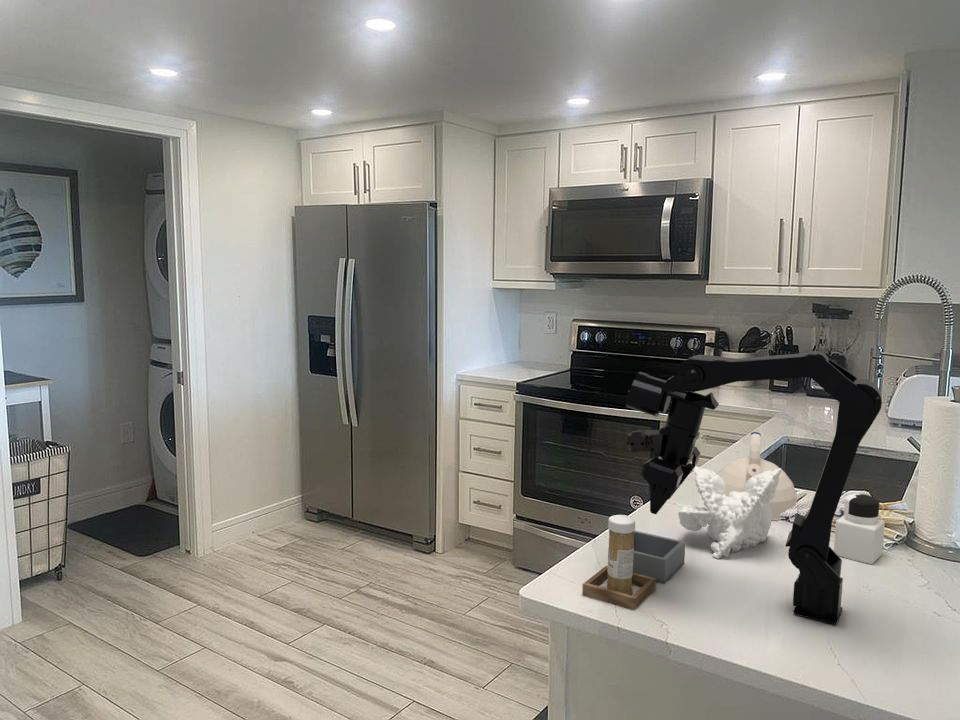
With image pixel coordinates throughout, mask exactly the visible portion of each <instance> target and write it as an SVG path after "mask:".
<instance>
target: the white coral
mask: <svg viewBox="0 0 960 720" xmlns="http://www.w3.org/2000/svg"><path fill="white" fill-rule="evenodd" d="M781 470H783V469H782V468H781V467H779V469H775V470H773V471H770V470H769V471H765V472H762V473H760V474H758V475H755V476H753V477H751V478H750V479H749V480H748V481H747V483H746V485H745V491H746V492H736V491H733V492H730V493H729V496H727V497H726V495H724V494H722V492H724V491H725V490H726V484H725V482H724V480H723V479H722V478H721V477H720V476H719V475H717V474H716V473H715V472H714V471H712V470H710V469H708V468H703V467H699V466H697V465H695V468H694V469H693V470H692V472H694V473H693V474H695V479H694V480H695V486H696V487H697V489H698V490H697V492H698V494H699V495H700V496H701V500H702V501H703V505H704V506H702V507H699V506H697V505H693V504H689V505H686V506H682V508H680V509H679V510H678V513H677V515H678V518H679V524H680V526H682V527H683V528H684V529H686V530H688V531H692V532H697V531H700V530H701V529H703V528H705V527H706V529H707V533H708V534H709V535H710V537H711V539H712V540H714V541H713V542H712V543H711V544H710V549H711V551H713V553H712V558H714V559H716V560H718V559H719V558H720V559H722V557H724V556H725V558H727V557H730V552H732V553H738V552H739V551H740V550H741V549H748V548H749V547H751V548H754V547H756V546H757V545H758V544H759V543H763V542H766V540H767V539H766V538H767V537H768V535H769V530H770V529H771V525H772V521H771V518H772V513H771V509H770V508H769V506H768V505H766V504H761V503H768V502H769V501H770V500H771V499H773V497H774V495H775V491H776V488H777V485H778V482H779V476H780V473H781ZM716 541H717V542H716Z"/></svg>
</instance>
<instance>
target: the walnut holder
mask: <svg viewBox="0 0 960 720" xmlns="http://www.w3.org/2000/svg"><path fill="white" fill-rule="evenodd" d="M607 571H608V564H607V565H605V566H603V567H602V568H601V569H600V570H599V571H597V572H596V573H595V574H593V575H592V576H591V577H590V578H589V579H587V580H586V581H585V582H584V583H582V594H581V595H582V596H585V597H588V598H591V599H596V600H598V601H602V602H605V603H608V604H609V603H610V604H612V605H616V606H619V607H621V608H622V607H623V608H626V609H629V610H633V611H636V609H637V608H639V606H640V605H642V604H643V602H645V600H646V599H648V598H649V597H650V595H652V594H653V592H655V591H656V589H657V582H656V578H653V577H649V576H645V575H641V574H637V573H634V572H633V575H632V586H635V587H639V588H638V590H637V591H636V592H635V593H633V595H632V594H631V595H628V594H624V593H621V592H617V591H614V590H610V589H607V587H603V586H601V585H602V584H604V582H606V581H608V572H607Z"/></svg>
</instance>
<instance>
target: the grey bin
mask: <svg viewBox="0 0 960 720" xmlns="http://www.w3.org/2000/svg"><path fill="white" fill-rule="evenodd" d="M633 546H634V554H633V572H634V573H637V574H641V575H645V576H649V577H653V578H656V583H659V584H662V585H665V584H666V583H667V582H668V581H669V580H670V579H671V578H672V577H673V576H674V575H675V574H676V573H677V572H678V571H679V570H680V569H681V568H682V567H683V566H684V565H685V559H686V558H685V556H686V541H684V540H678V539H675V538H670V537H665V536H661V535H658V534H657V535H656V534H653V533H648V532H644V531H639V530H635V531H634V545H633Z"/></svg>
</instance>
